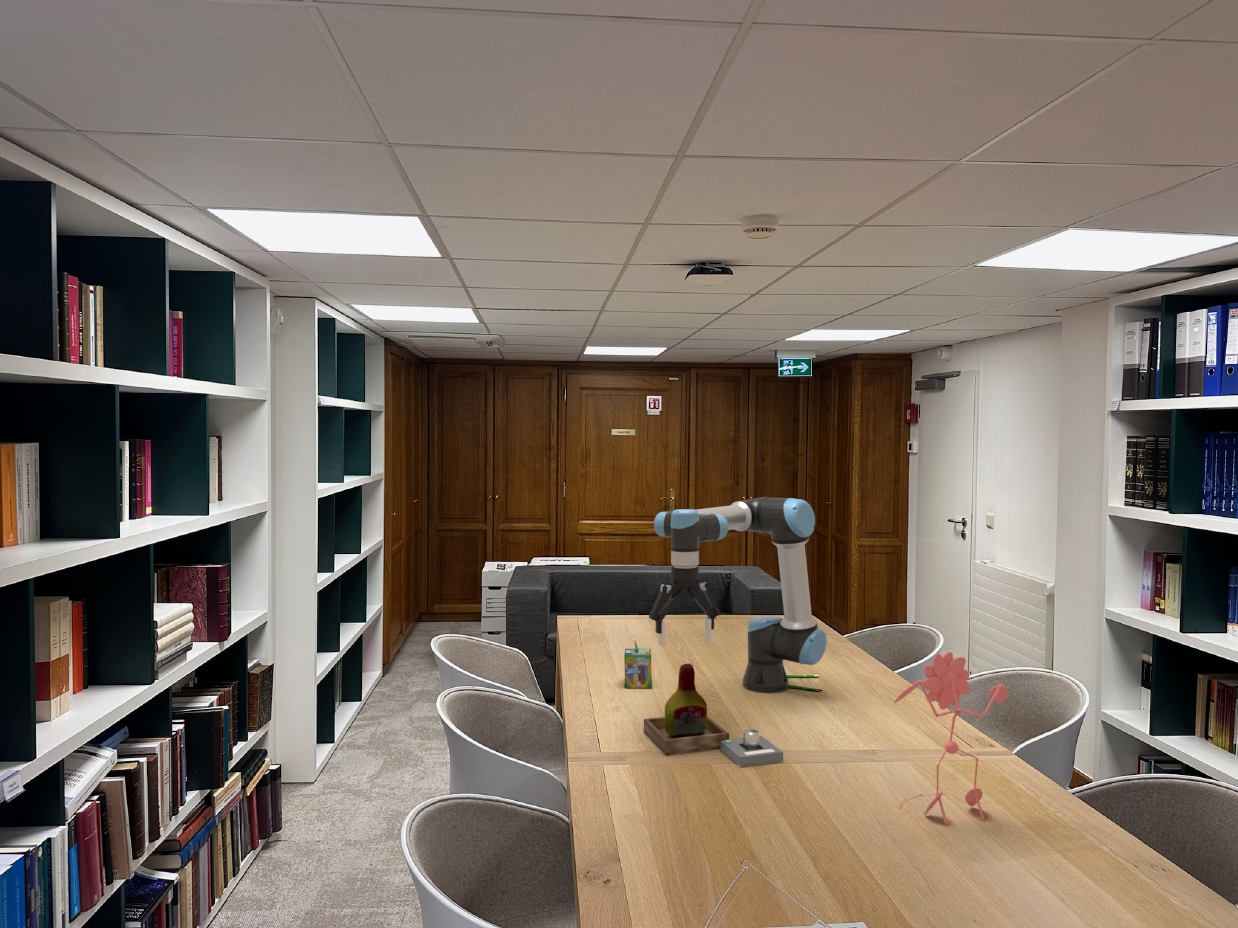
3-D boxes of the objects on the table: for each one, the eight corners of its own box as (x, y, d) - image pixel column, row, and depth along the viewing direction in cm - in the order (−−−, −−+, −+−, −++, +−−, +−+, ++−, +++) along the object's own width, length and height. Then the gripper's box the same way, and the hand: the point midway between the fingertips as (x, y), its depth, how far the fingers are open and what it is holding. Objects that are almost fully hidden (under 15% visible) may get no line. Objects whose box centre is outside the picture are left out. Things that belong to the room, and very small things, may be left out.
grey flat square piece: (761, 745, 218) (761, 734, 218) (783, 761, 206) (783, 750, 206) (720, 750, 214) (720, 739, 214) (740, 767, 203) (740, 755, 203)
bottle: (705, 731, 226) (705, 660, 225) (709, 740, 219) (709, 666, 219) (662, 733, 225) (662, 661, 224) (665, 741, 218) (665, 668, 218)
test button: (754, 745, 213) (754, 728, 213) (761, 750, 209) (761, 733, 209) (740, 746, 212) (740, 730, 212) (747, 752, 208) (747, 735, 208)
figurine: (1020, 816, 175) (1017, 654, 175) (915, 831, 168) (912, 663, 168) (972, 789, 190) (970, 640, 190) (874, 802, 183) (872, 647, 183)
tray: (702, 725, 233) (702, 712, 233) (729, 747, 216) (729, 733, 216) (643, 732, 228) (643, 718, 228) (666, 755, 211) (665, 740, 211)
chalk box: (651, 688, 269) (651, 644, 269) (624, 688, 269) (624, 644, 269) (651, 680, 278) (651, 638, 278) (625, 680, 279) (624, 638, 278)
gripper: (721, 562, 228) (721, 636, 229) (637, 566, 221) (637, 643, 222) (732, 565, 221) (732, 642, 222) (646, 570, 214) (646, 650, 214)
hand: (685, 643), depth 222 cm, fingers open, 13 cm apart
